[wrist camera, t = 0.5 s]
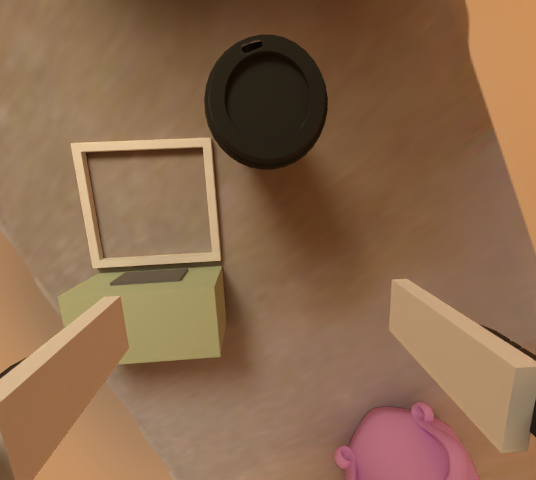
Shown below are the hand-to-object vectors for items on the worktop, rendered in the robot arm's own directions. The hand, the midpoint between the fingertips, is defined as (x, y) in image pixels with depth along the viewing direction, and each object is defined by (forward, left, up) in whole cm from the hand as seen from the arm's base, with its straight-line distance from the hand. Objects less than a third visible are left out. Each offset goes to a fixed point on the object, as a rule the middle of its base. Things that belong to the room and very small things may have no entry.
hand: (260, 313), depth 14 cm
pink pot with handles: (+38, +22, -25) cm, 50 cm away
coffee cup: (-12, +1, -25) cm, 27 cm away
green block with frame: (+1, -13, -24) cm, 28 cm away
